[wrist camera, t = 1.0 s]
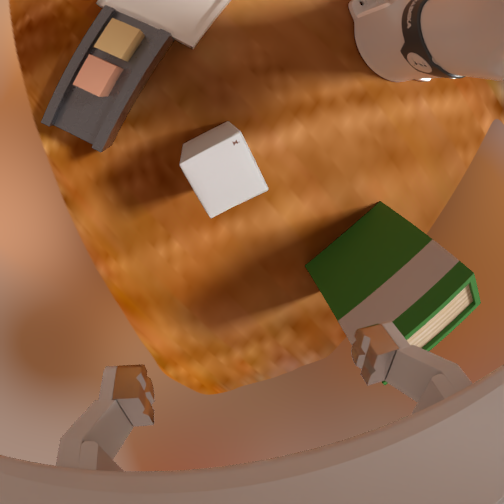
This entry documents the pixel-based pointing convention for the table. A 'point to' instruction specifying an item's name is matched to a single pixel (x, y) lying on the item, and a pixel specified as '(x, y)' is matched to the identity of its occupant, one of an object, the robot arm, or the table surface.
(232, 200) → the supplement box
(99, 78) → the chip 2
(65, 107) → the slot block
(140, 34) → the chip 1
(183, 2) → the tray
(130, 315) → the table surface
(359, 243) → the hardback book
